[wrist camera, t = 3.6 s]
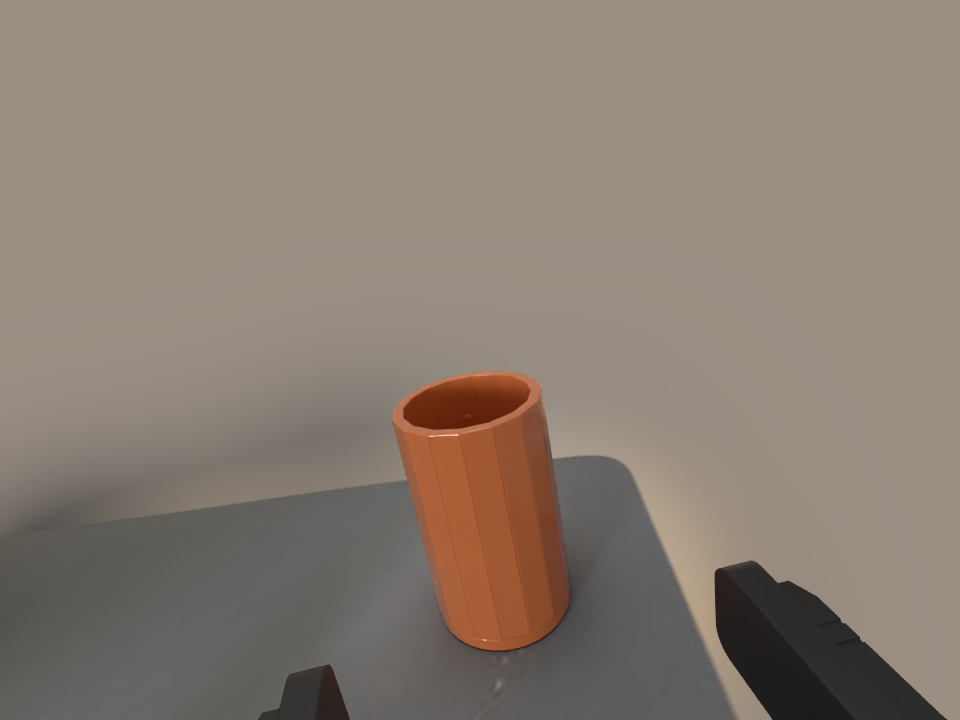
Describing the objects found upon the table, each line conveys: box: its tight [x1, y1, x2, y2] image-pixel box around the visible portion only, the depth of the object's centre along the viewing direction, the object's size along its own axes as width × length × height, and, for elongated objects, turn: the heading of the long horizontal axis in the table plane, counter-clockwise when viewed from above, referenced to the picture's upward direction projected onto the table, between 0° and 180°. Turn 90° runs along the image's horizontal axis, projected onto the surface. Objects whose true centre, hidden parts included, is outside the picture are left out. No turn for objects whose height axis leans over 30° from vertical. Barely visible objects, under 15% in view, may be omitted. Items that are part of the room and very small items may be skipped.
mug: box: [392, 371, 570, 651], centre depth 24 cm, size 10×6×10 cm, turn 8°
